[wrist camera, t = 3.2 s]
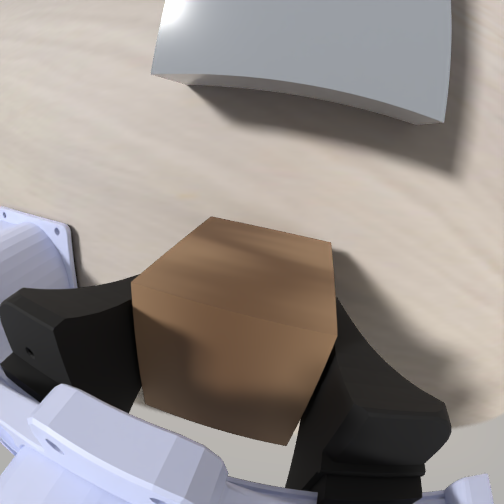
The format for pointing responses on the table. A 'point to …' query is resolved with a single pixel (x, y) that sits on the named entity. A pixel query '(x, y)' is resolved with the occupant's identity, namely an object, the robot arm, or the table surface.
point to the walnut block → (236, 327)
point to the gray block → (315, 51)
